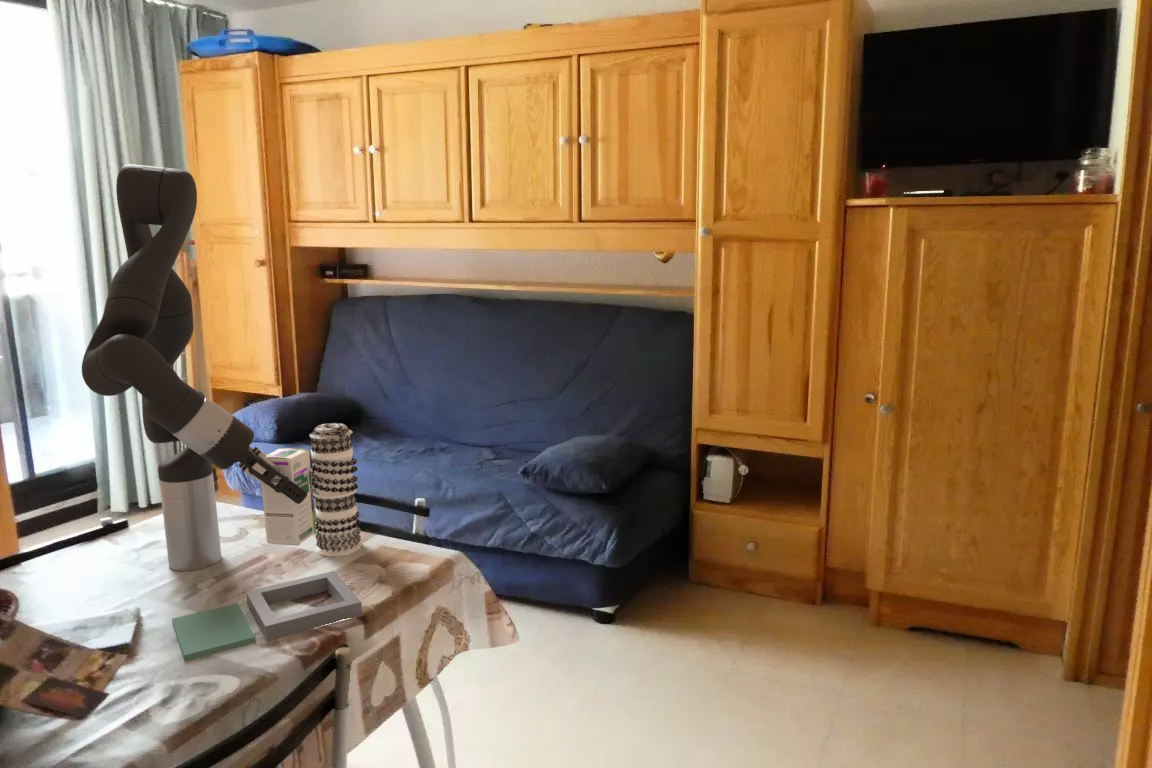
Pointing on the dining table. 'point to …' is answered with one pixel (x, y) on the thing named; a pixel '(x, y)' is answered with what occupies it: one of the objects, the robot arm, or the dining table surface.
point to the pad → (212, 631)
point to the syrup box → (289, 500)
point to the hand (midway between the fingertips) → (296, 492)
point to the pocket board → (306, 619)
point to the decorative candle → (334, 490)
